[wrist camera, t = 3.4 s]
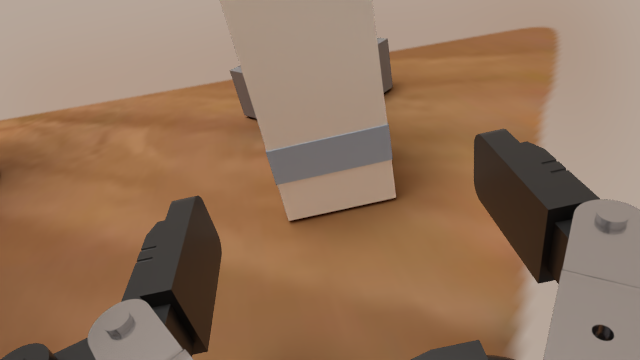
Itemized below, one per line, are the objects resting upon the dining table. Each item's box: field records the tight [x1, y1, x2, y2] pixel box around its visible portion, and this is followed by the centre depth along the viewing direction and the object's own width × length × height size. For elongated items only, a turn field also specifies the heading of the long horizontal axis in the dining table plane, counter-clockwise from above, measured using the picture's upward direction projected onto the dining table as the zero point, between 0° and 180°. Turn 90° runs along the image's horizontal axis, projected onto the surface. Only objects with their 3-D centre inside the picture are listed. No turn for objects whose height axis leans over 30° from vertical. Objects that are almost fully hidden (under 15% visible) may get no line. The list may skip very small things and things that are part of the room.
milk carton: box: [220, 0, 396, 221], centre depth 22 cm, size 6×6×12 cm
